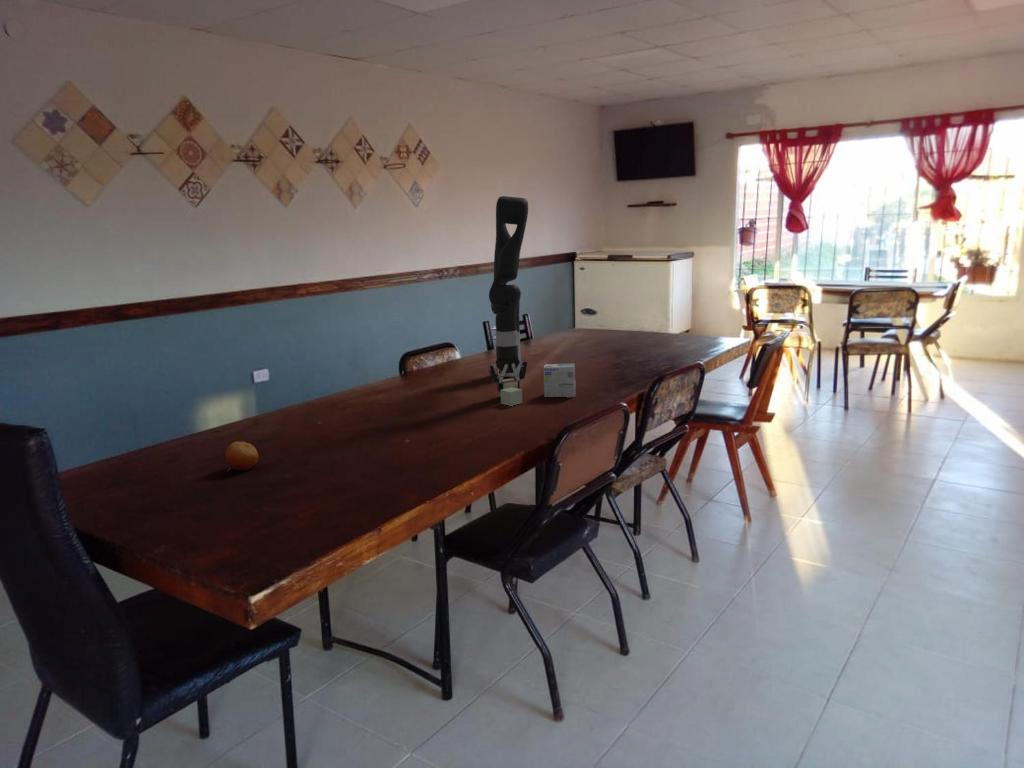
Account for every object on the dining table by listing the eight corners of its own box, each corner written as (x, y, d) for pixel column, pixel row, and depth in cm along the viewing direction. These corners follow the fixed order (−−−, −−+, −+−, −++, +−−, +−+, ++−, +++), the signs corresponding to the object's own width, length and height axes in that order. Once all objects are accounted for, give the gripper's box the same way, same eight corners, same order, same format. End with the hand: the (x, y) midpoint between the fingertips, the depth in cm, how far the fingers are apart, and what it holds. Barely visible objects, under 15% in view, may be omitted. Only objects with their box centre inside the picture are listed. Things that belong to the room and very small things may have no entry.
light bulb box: (575, 393, 258) (575, 362, 256) (575, 397, 251) (574, 366, 249) (545, 393, 259) (544, 363, 257) (543, 398, 252) (543, 367, 250)
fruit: (226, 458, 193) (239, 433, 191) (253, 473, 193) (266, 447, 192) (213, 468, 185) (226, 442, 183) (241, 483, 185) (255, 457, 184)
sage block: (501, 404, 246) (500, 389, 245) (512, 401, 249) (511, 387, 248) (511, 407, 242) (510, 392, 241) (522, 404, 246) (521, 389, 244)
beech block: (499, 394, 257) (498, 380, 256) (512, 392, 259) (512, 378, 258) (504, 397, 253) (504, 383, 252) (518, 395, 255) (517, 381, 254)
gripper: (522, 340, 258) (523, 388, 262) (483, 344, 253) (485, 392, 257) (530, 343, 251) (532, 392, 255) (490, 347, 246) (492, 397, 250)
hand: (508, 392), depth 256 cm, fingers closed on beech block, 5 cm apart
